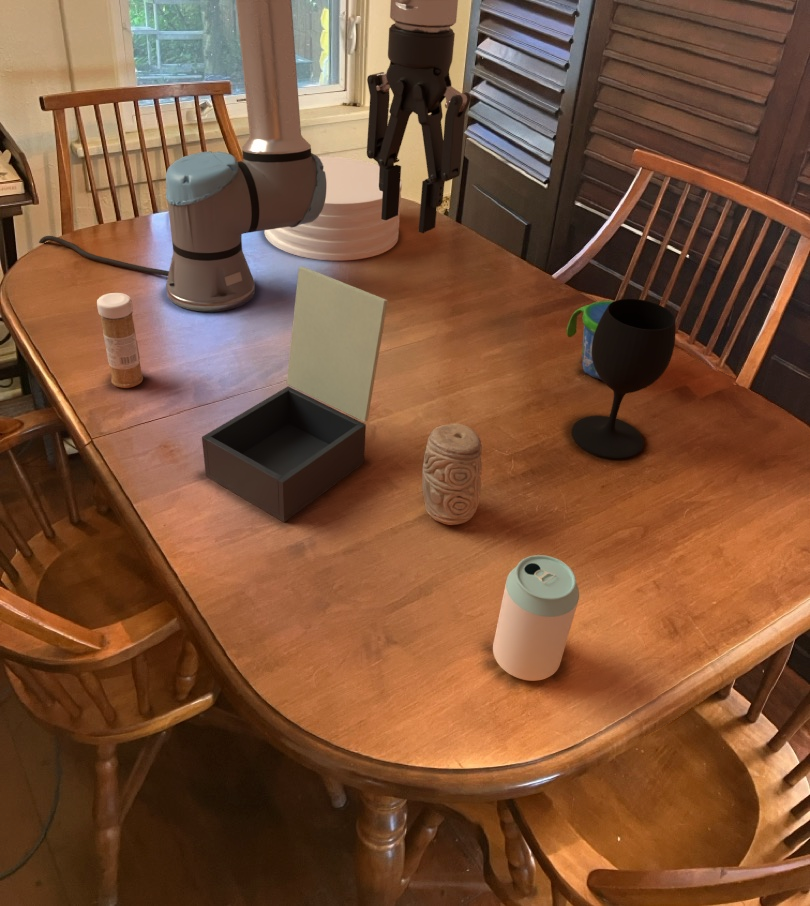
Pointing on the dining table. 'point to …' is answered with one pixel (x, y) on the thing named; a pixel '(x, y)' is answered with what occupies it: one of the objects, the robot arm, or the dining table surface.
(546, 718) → the dining table surface
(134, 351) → the sprinkles bottle
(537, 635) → the can
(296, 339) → the cover
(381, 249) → the plate stack
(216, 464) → the dark grey box
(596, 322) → the snack cup
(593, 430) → the wine glass
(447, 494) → the carving
